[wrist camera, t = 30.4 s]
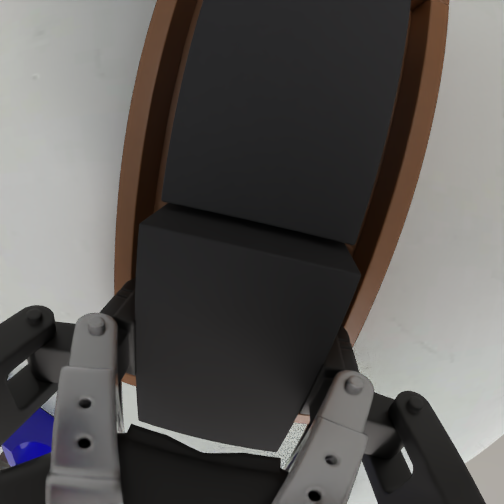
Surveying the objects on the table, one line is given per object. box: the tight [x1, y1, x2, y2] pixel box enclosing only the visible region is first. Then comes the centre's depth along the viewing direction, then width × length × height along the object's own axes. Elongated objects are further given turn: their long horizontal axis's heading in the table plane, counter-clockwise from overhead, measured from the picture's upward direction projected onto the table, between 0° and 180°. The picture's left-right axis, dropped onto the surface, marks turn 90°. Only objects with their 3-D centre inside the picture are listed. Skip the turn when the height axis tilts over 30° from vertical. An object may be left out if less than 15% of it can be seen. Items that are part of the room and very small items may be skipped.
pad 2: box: [135, 203, 361, 452], centre depth 11 cm, size 8×6×4 cm
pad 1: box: [161, 0, 411, 245], centre depth 9 cm, size 8×6×4 cm
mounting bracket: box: [2, 408, 54, 466], centre depth 20 cm, size 18×7×6 cm, turn 59°
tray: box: [114, 0, 449, 424], centre depth 11 cm, size 21×10×2 cm, turn 168°
